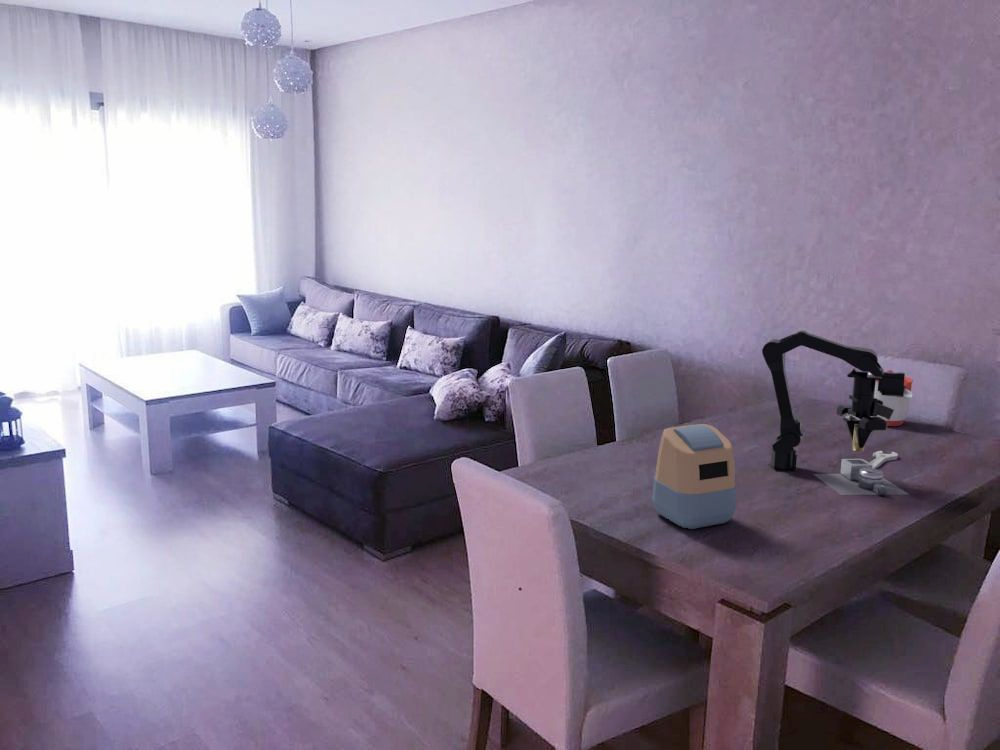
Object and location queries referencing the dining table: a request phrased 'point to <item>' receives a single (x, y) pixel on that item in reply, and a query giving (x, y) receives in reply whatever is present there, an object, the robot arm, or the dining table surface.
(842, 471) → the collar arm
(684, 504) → the alarm clock
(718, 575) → the dining table surface
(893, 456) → the adjustable wrench
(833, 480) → the mat
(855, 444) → the brass rounded cylinder
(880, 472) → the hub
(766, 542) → the dining table surface
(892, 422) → the citrus juicer
